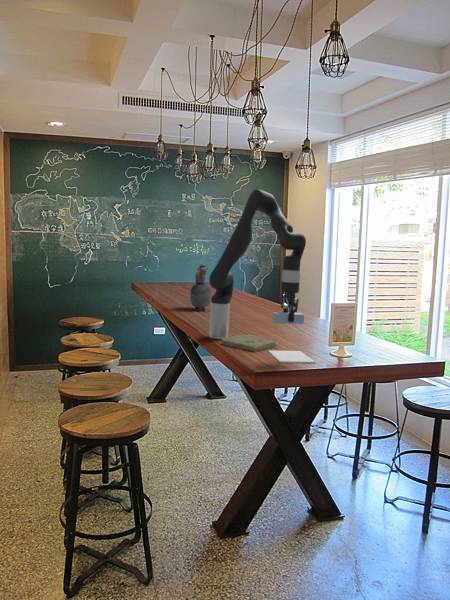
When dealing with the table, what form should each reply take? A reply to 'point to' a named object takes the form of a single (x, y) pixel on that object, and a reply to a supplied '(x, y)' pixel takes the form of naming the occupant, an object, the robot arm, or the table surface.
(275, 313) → the block
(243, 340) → the decorative tile
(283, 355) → the mat
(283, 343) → the table surface
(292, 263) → the robot arm
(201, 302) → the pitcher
